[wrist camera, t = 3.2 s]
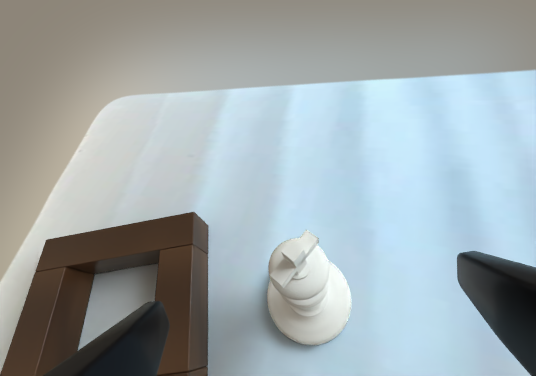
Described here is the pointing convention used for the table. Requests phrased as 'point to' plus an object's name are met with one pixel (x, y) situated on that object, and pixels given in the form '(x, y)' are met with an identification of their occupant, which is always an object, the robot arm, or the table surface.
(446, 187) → the table surface
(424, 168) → the table surface
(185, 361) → the frame
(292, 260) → the chess piece
